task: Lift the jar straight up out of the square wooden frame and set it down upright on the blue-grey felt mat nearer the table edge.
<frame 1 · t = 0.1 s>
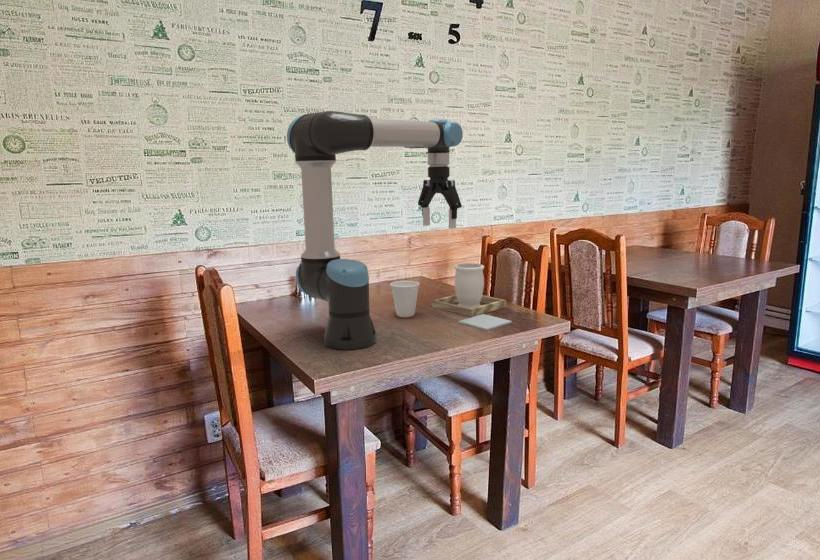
hand: (439, 227, 196), 28 cm above the table, fingers open, 13 cm apart
jar: (469, 307, 196), resting in square wooden frame
mat: (485, 322, 177), on the table
cup: (405, 315, 187), on the table
square wooden frame: (469, 307, 196), on the table
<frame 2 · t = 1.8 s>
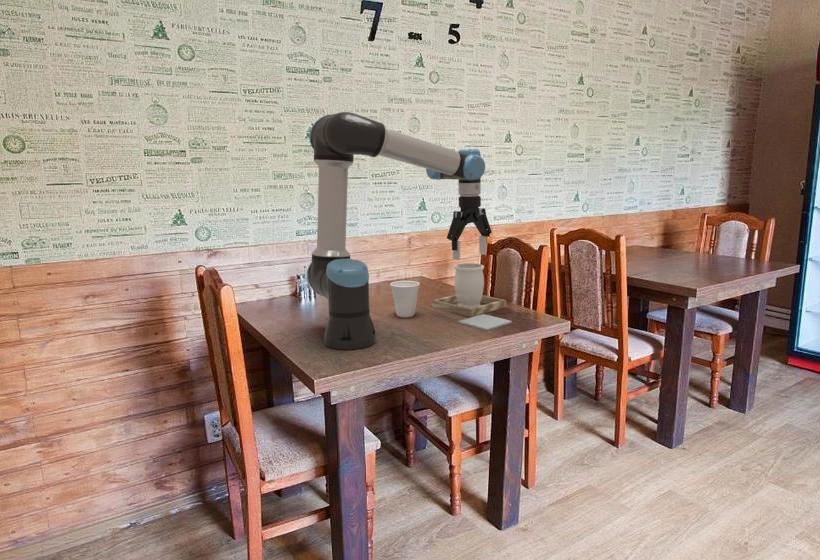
hand: (470, 257, 193), 18 cm above the table, fingers open, 13 cm apart
nothing on the table moved.
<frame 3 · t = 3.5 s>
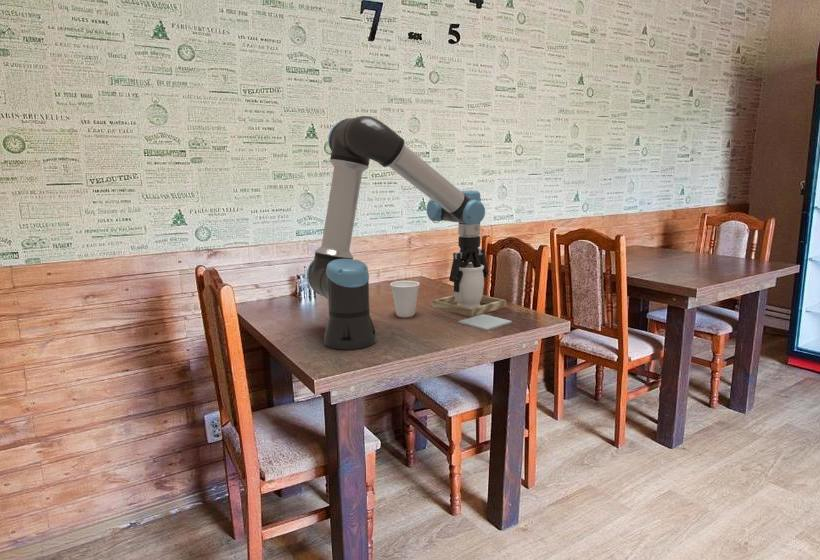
hand: (469, 297, 195), 3 cm above the table, fingers closed on jar, 10 cm apart
jar: (469, 307, 196), resting in square wooden frame, touching gripper
everything else where it was.
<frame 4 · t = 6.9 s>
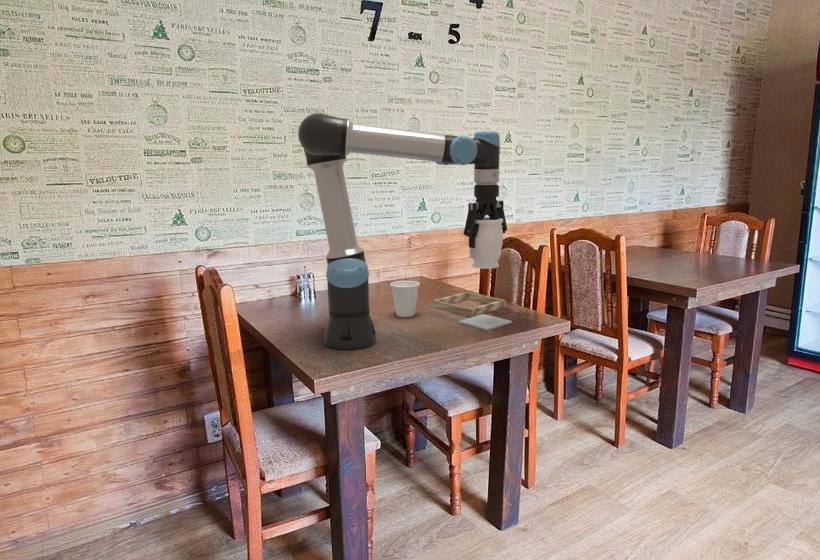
hand: (485, 256, 172), 22 cm above the table, fingers closed on jar, 10 cm apart
jar: (485, 267, 173), point 18 cm above the table, touching gripper
everything else where it was.
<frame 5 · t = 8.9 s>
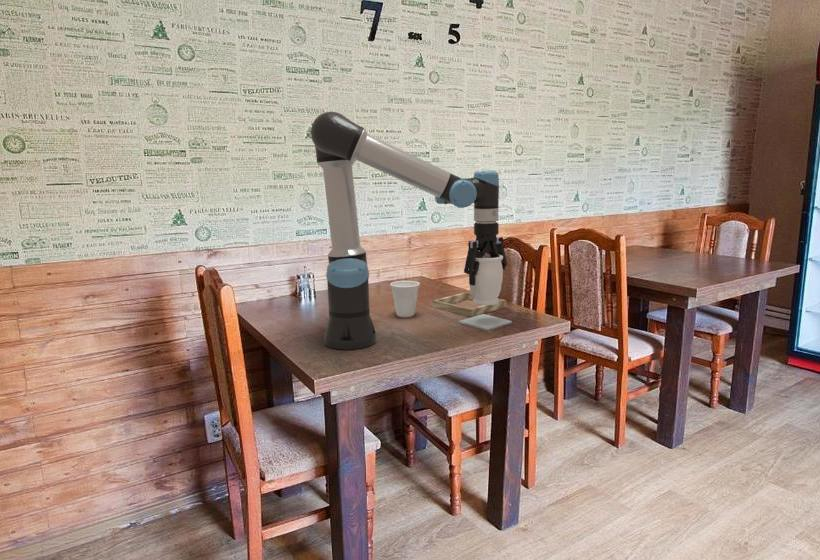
hand: (485, 292, 174), 10 cm above the table, fingers closed on jar, 10 cm apart
jar: (486, 303, 175), point 7 cm above the table, touching gripper
everything else where it was.
when the fingers open (6 cm above the table, at t = 10.4 s): jar drops 2 cm, resting on mat.
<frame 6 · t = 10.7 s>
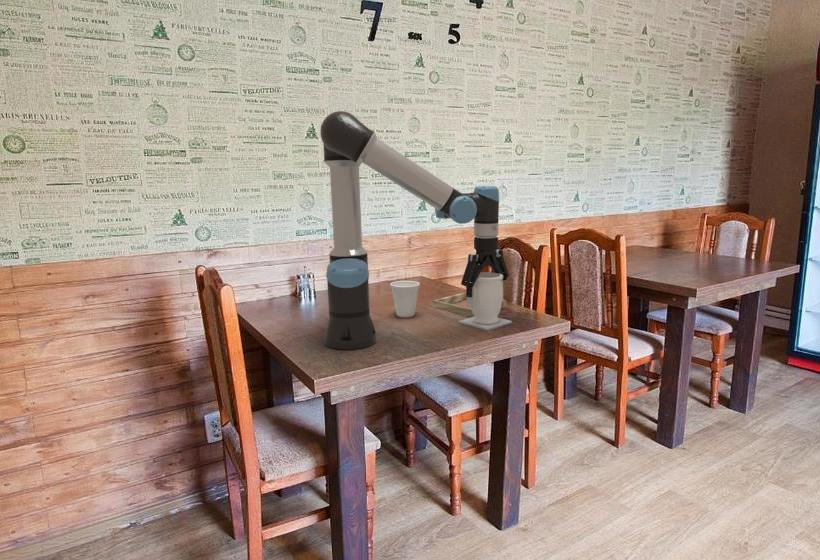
hand: (485, 303, 175), 6 cm above the table, fingers open, 13 cm apart
jar: (485, 321, 177), resting on mat
everything else where it was.
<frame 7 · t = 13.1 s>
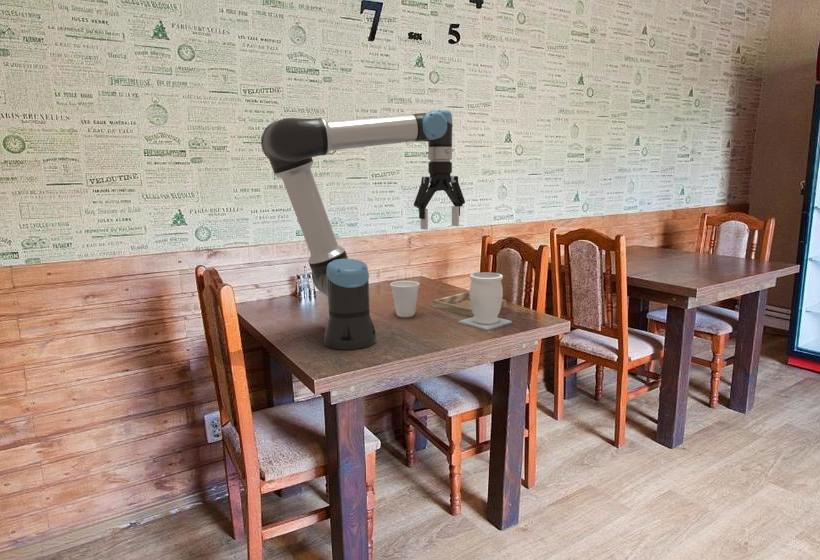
hand: (440, 227, 180), 30 cm above the table, fingers open, 13 cm apart
nothing on the table moved.
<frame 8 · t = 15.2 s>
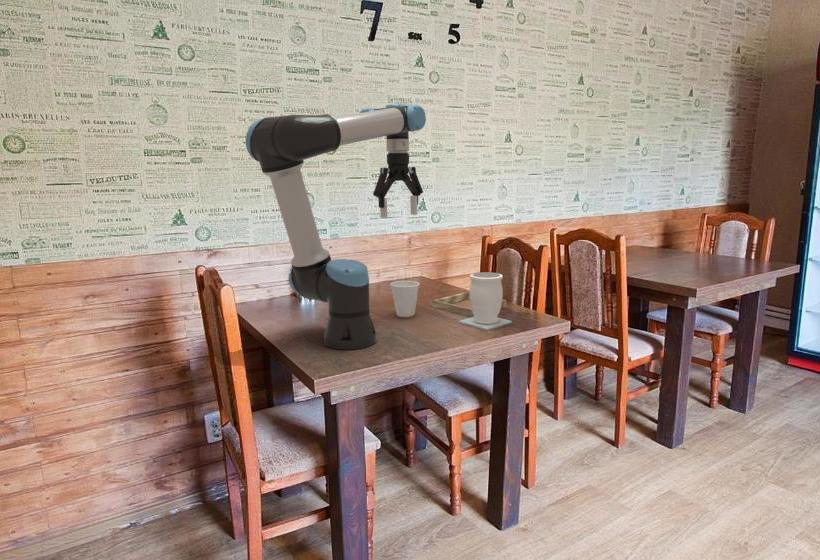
hand: (399, 216, 189), 33 cm above the table, fingers open, 13 cm apart
nothing on the table moved.
at the end: jar inside the target area on the mat (0.2 cm from its centre), point 0.4 cm above the mat's base; jar tilted 0°; the gripper is holding nothing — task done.
